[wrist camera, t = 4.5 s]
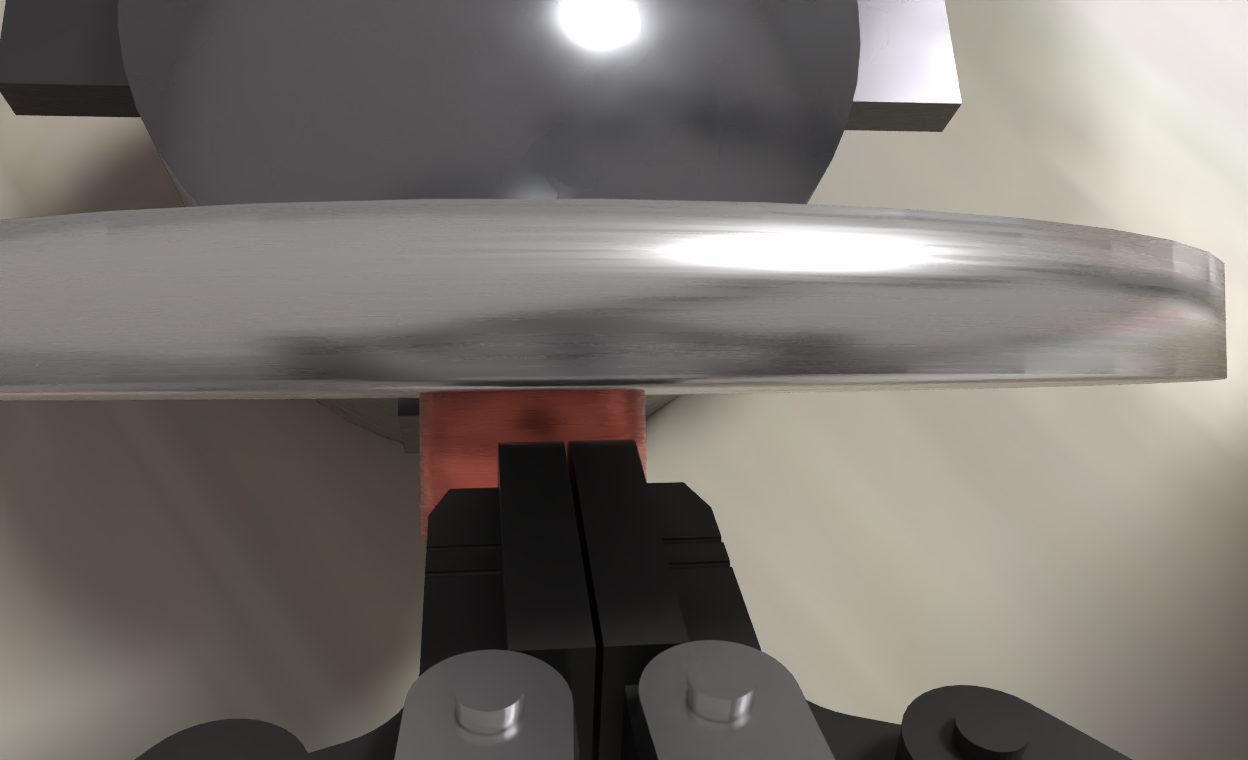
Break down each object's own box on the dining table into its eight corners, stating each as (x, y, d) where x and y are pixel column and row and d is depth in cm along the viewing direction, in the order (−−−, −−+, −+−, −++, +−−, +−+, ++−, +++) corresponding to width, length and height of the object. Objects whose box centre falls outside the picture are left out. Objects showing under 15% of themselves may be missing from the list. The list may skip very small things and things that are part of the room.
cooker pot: (135, -51, 39) (27, -315, 30) (823, -26, 42) (922, -258, 33) (76, 516, 33) (-84, 408, 23) (892, 496, 36) (1038, 393, 27)
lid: (-912, 183, 7) (-921, 739, 7) (1725, 209, 9) (1739, 624, 9) (87, 344, 24) (88, 497, 24) (899, 339, 26) (901, 479, 26)
